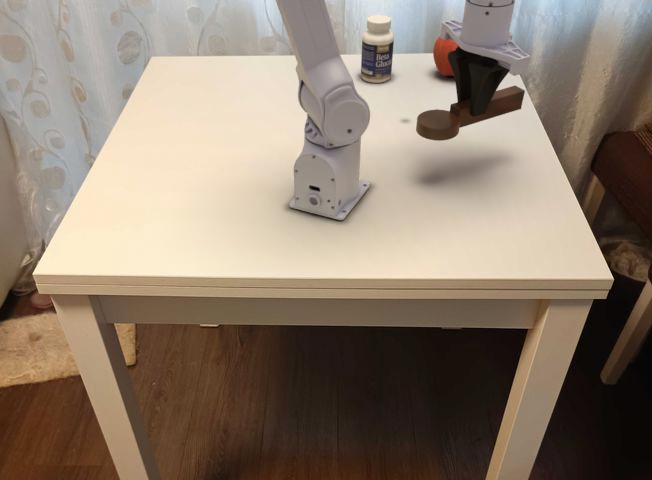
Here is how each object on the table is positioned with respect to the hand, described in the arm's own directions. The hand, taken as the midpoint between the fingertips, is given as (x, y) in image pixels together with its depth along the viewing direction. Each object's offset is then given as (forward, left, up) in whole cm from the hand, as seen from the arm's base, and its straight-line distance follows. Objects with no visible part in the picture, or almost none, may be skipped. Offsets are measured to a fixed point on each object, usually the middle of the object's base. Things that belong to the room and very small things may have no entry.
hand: (471, 110), depth 85 cm
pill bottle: (+24, +23, -9) cm, 34 cm away
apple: (+30, +11, -9) cm, 33 cm away
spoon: (0, 0, -1) cm, 1 cm away
